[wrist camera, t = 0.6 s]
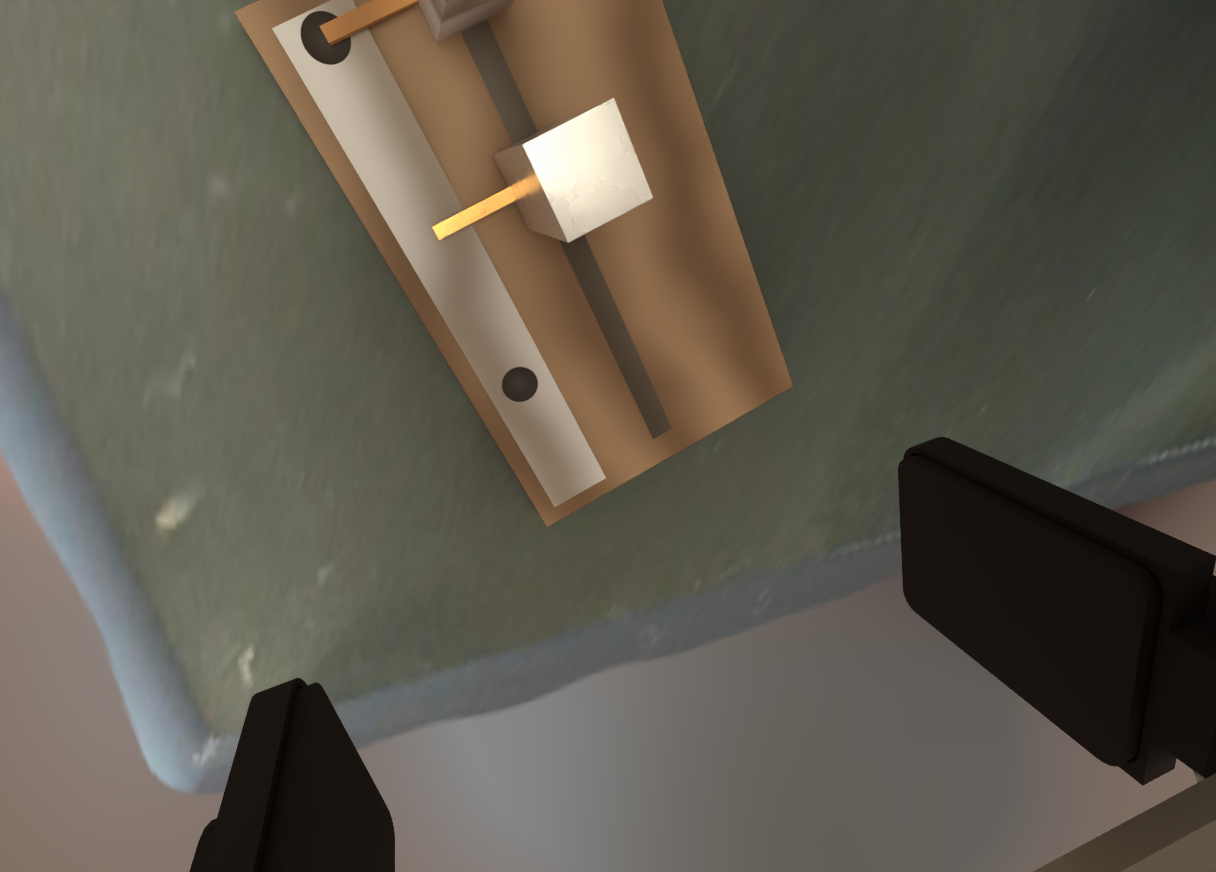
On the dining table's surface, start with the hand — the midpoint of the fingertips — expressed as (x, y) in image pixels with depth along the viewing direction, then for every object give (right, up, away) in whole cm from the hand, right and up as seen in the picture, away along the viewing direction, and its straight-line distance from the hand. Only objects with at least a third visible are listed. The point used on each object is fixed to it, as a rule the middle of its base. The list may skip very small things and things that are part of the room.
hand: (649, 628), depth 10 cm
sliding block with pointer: (-5, +14, +19) cm, 24 cm away
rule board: (-3, +13, +22) cm, 26 cm away
